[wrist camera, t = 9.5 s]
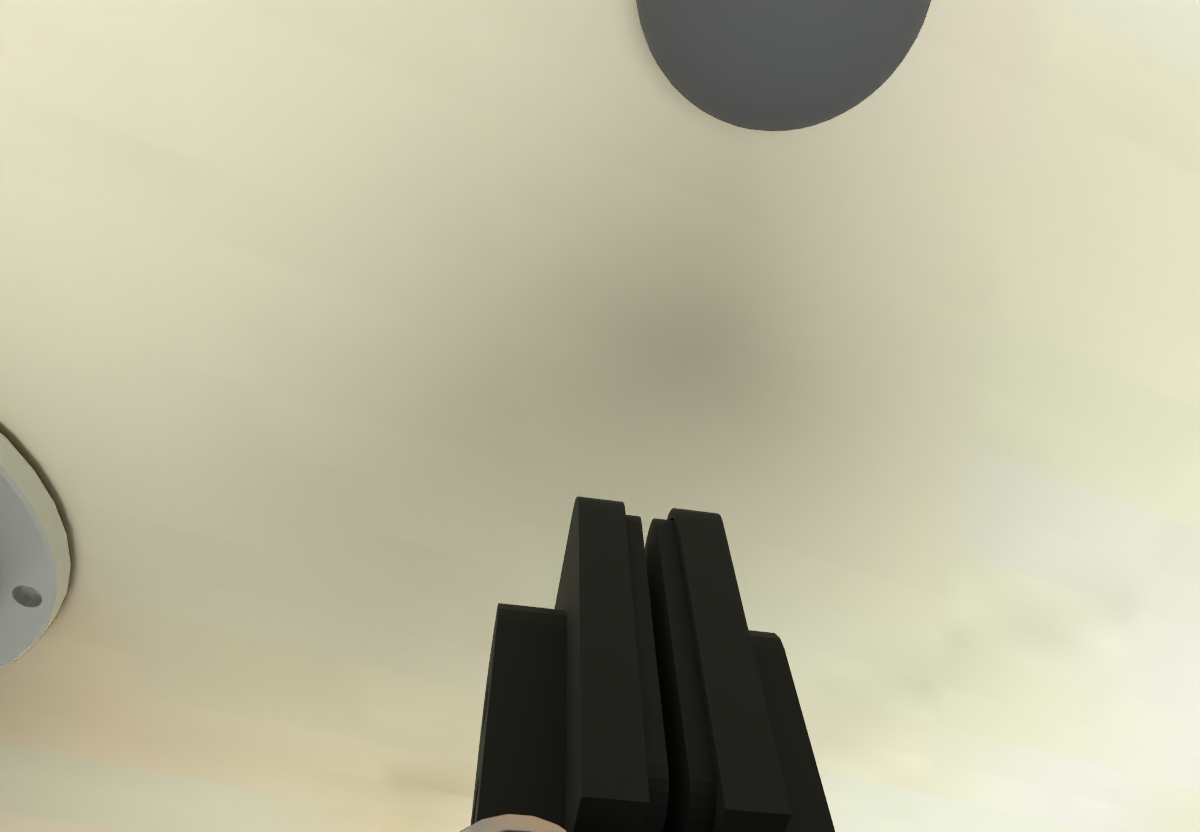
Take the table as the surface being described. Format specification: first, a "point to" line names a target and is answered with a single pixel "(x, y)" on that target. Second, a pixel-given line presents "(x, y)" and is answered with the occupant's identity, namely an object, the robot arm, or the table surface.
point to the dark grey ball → (779, 54)
